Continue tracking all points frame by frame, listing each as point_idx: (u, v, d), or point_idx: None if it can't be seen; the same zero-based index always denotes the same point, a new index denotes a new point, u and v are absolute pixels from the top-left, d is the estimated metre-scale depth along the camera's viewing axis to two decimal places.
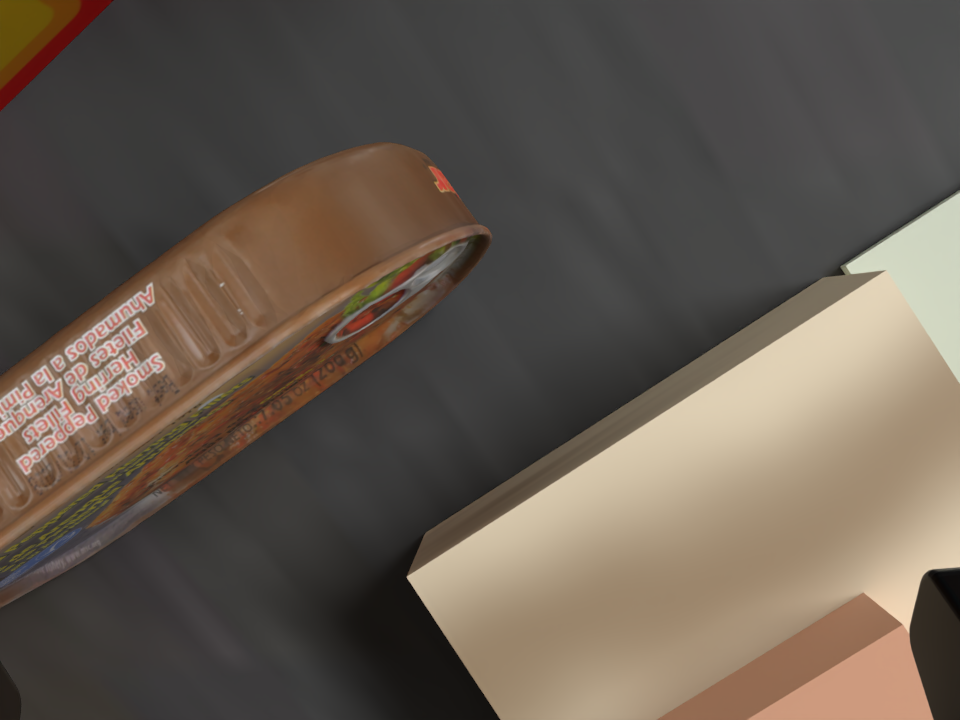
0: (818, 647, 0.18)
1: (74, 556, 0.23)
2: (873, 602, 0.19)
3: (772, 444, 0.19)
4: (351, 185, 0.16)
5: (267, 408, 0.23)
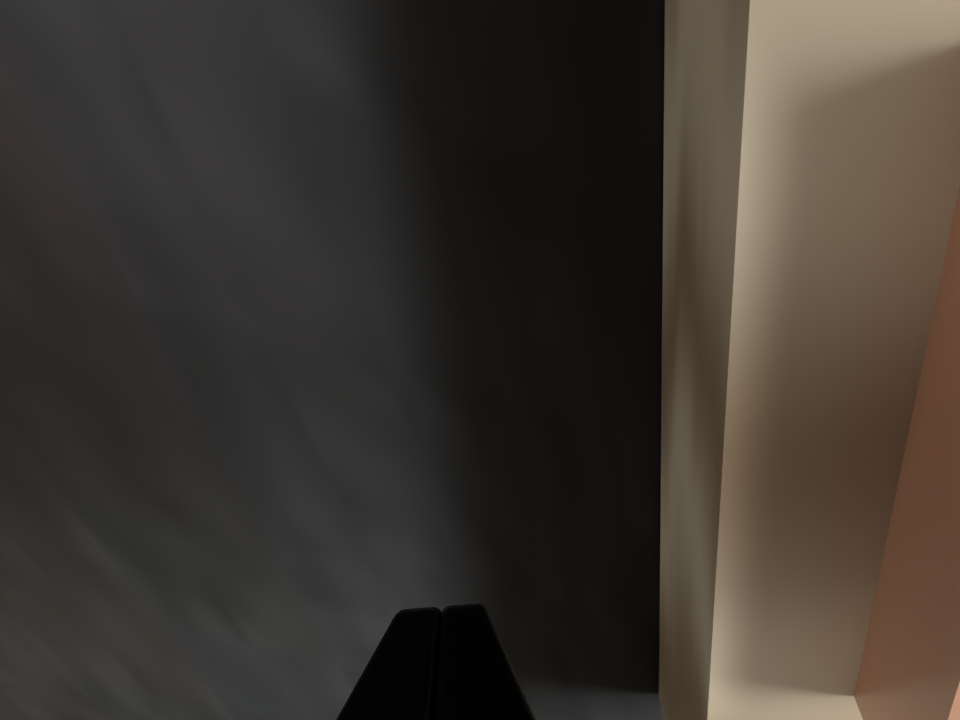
0: None
1: None
2: None
3: None
4: None
5: None
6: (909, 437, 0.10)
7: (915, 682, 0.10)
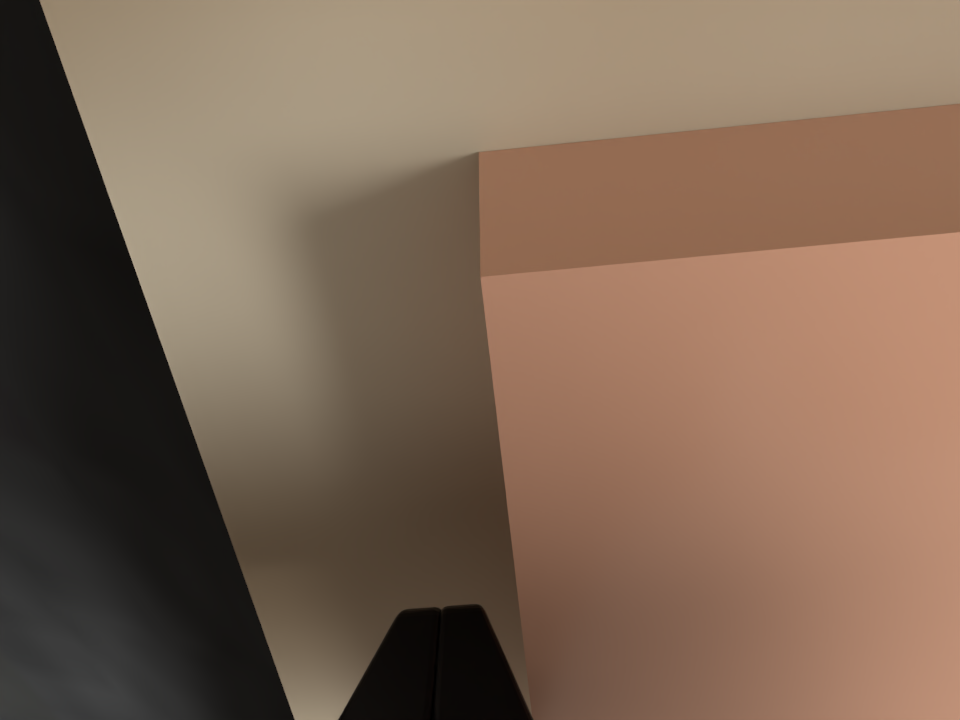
0: None
1: None
2: None
3: None
4: None
5: None
6: None
7: None
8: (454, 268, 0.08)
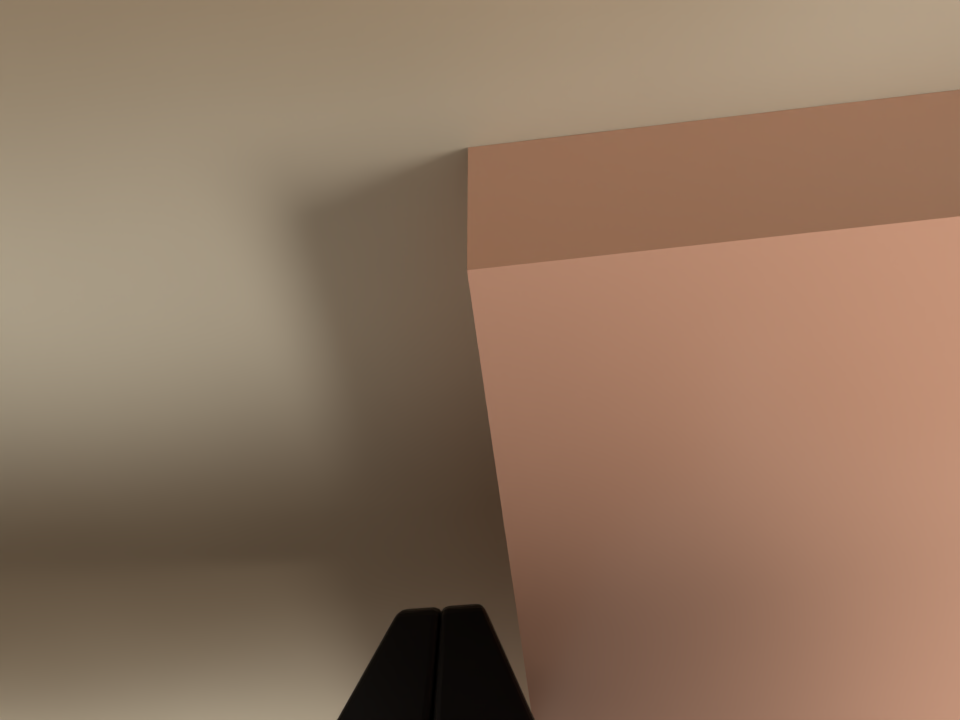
0: None
1: None
2: None
3: None
4: None
5: None
6: None
7: None
8: None
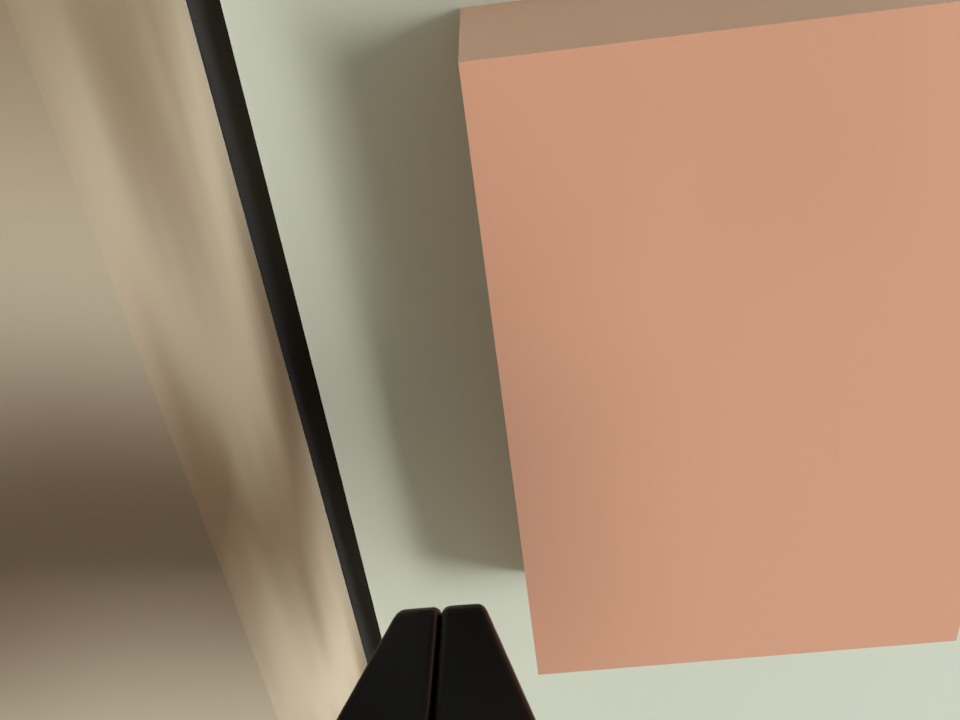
0: (608, 13, 0.09)
1: None
2: (462, 42, 0.09)
3: None
4: None
5: None
6: None
7: None
8: None
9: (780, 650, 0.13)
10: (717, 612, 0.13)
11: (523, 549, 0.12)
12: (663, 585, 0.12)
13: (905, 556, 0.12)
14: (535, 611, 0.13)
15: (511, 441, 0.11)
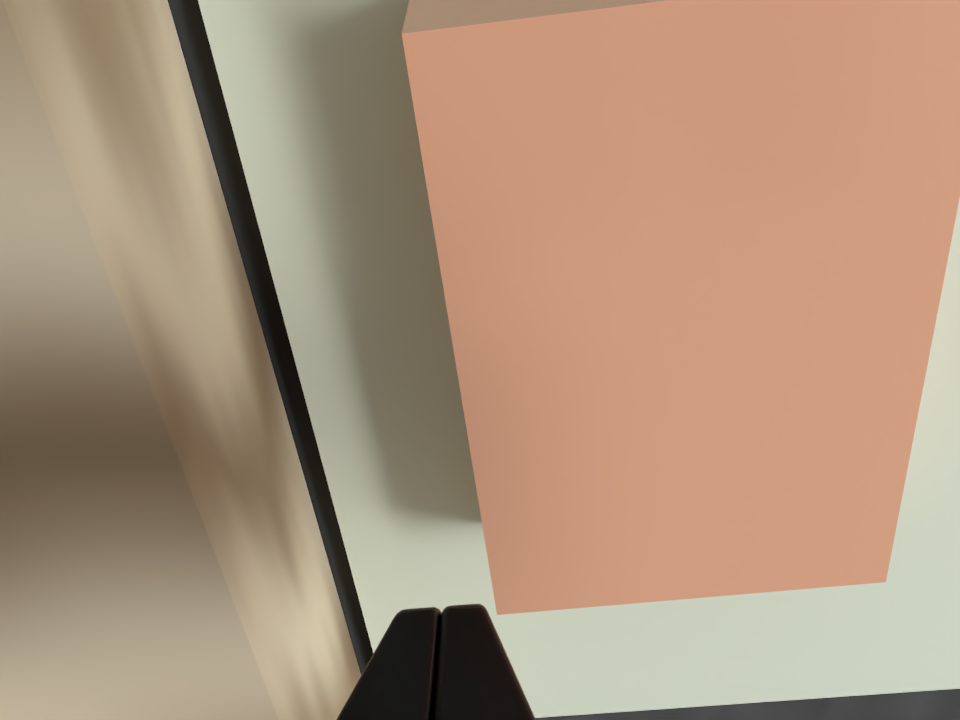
0: None
1: None
2: (408, 17, 0.10)
3: None
4: None
5: None
6: (933, 323, 0.11)
7: None
8: None
9: (722, 591, 0.14)
10: (661, 554, 0.14)
11: (478, 492, 0.13)
12: (609, 527, 0.13)
13: (833, 500, 0.13)
14: (491, 552, 0.14)
15: (463, 388, 0.12)
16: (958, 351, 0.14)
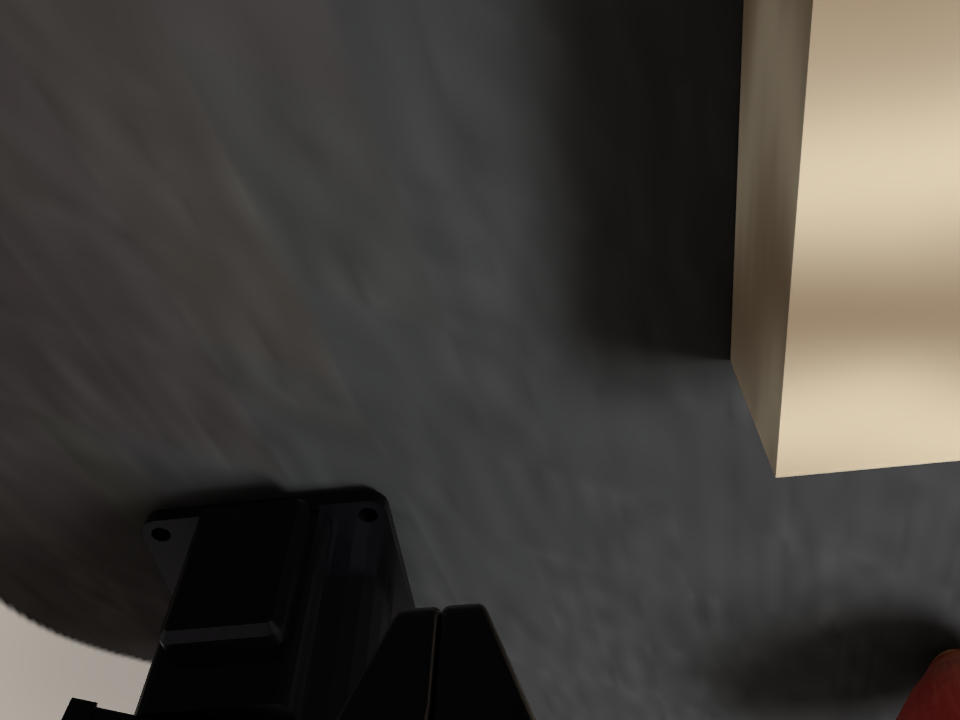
0: None
1: None
2: None
3: None
4: None
5: None
6: None
7: None
8: None
9: None
10: None
11: None
12: None
13: None
14: None
15: None
16: None
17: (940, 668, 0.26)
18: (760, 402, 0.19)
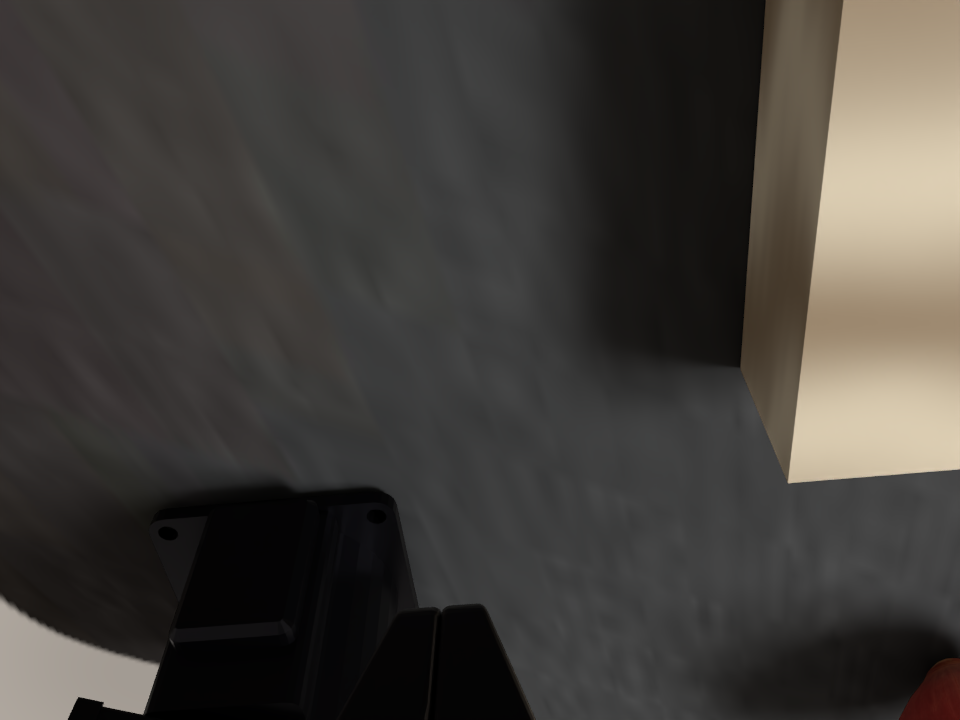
0: None
1: None
2: None
3: None
4: None
5: None
6: None
7: None
8: None
9: None
10: None
11: None
12: None
13: None
14: None
15: None
16: None
17: (938, 676, 0.26)
18: (772, 408, 0.19)
